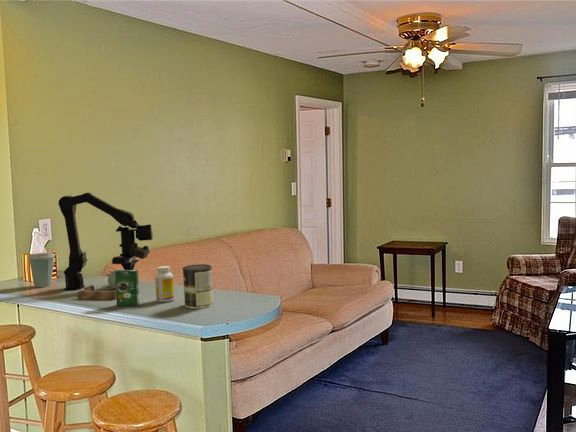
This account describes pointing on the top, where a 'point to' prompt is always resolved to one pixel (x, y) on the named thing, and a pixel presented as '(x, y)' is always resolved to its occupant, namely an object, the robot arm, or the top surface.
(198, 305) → the coffee can
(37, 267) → the disposable coffee cup
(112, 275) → the ceramic mug
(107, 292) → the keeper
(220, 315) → the top surface
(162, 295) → the supplement bottle
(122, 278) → the coffee box
